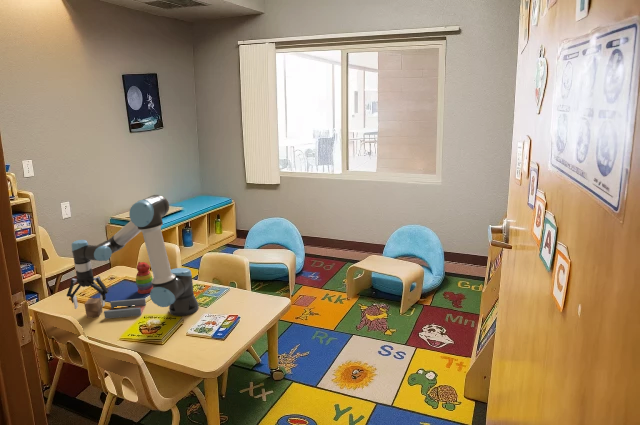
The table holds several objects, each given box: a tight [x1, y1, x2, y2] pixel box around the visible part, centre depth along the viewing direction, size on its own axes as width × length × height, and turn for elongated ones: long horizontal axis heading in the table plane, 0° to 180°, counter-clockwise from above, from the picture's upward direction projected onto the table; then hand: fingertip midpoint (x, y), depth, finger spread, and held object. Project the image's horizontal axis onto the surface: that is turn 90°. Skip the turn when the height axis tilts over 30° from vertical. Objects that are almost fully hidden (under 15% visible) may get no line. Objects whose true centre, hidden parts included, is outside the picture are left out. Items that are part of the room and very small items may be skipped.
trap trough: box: [103, 297, 147, 320], centre depth 248 cm, size 18×12×4 cm
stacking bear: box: [135, 261, 154, 295], centre depth 271 cm, size 11×10×18 cm
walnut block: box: [83, 297, 104, 319], centre depth 245 cm, size 6×6×8 cm
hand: (90, 306), depth 245 cm, fingers open, 13 cm apart
